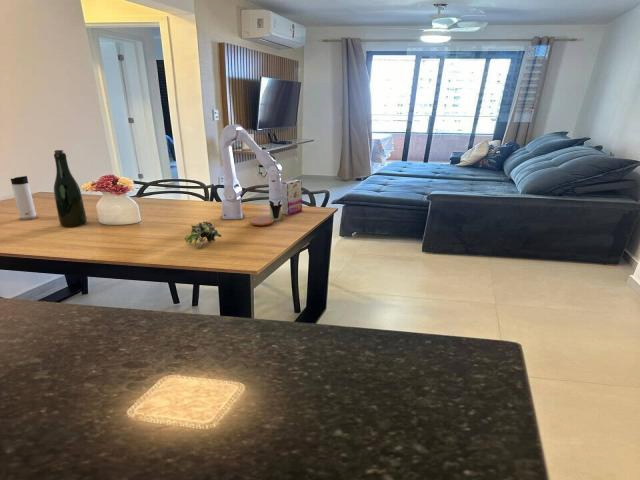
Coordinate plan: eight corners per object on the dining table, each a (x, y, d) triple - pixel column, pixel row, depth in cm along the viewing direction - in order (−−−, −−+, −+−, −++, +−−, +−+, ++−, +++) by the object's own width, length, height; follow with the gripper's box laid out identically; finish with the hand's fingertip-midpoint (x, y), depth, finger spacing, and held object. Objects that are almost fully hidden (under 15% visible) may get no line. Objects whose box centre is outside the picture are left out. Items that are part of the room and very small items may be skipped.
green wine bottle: (57, 224, 172) (41, 149, 162) (83, 219, 180) (69, 148, 169) (63, 229, 165) (47, 152, 155) (90, 224, 173) (76, 150, 162)
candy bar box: (295, 209, 204) (295, 179, 199) (302, 211, 201) (302, 180, 196) (281, 213, 196) (280, 182, 190) (288, 215, 193) (287, 183, 187)
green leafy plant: (210, 254, 155) (226, 231, 153) (200, 259, 144) (217, 234, 142) (187, 238, 154) (203, 214, 152) (175, 242, 144) (193, 216, 142)
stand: (249, 227, 172) (249, 223, 172) (249, 220, 182) (249, 217, 182) (273, 226, 174) (273, 223, 173) (272, 220, 184) (272, 216, 184)
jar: (270, 220, 183) (270, 208, 181) (270, 218, 188) (269, 206, 186) (281, 220, 184) (281, 208, 182) (280, 217, 189) (280, 205, 187)
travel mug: (31, 220, 178) (20, 177, 171) (17, 219, 178) (6, 177, 171) (40, 216, 184) (30, 175, 177) (27, 216, 184) (16, 174, 177)
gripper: (284, 192, 175) (284, 220, 179) (282, 185, 188) (282, 212, 193) (269, 192, 174) (269, 220, 178) (268, 186, 187) (268, 212, 192)
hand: (275, 216), depth 185 cm, fingers closed on jar, 5 cm apart
